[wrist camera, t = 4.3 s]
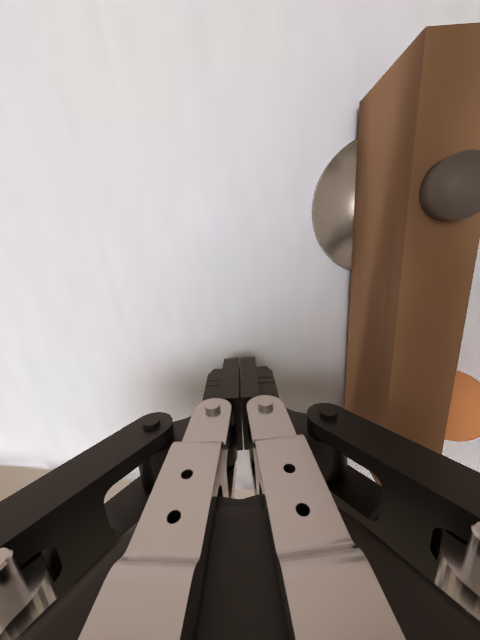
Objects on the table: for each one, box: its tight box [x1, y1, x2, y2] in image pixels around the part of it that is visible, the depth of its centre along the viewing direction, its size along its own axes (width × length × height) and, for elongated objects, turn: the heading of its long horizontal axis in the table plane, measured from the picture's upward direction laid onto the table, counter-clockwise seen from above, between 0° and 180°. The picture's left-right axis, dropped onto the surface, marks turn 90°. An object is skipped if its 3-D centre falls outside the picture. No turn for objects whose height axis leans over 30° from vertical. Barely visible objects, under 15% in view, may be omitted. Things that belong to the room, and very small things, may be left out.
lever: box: [344, 23, 480, 486], centre depth 11 cm, size 2×16×5 cm, turn 4°
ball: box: [444, 371, 480, 441], centre depth 13 cm, size 3×3×3 cm
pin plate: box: [312, 138, 358, 270], centre depth 12 cm, size 6×6×1 cm
